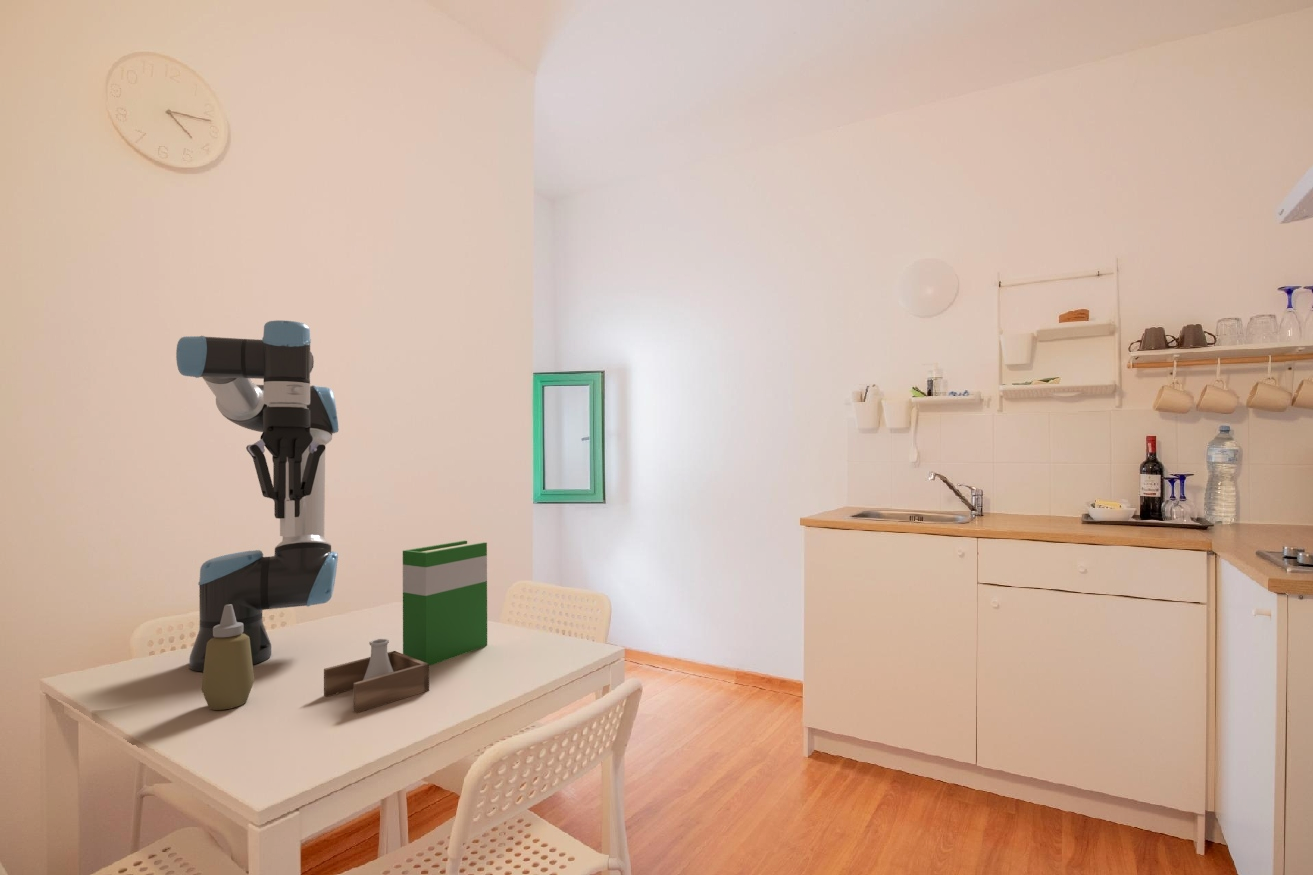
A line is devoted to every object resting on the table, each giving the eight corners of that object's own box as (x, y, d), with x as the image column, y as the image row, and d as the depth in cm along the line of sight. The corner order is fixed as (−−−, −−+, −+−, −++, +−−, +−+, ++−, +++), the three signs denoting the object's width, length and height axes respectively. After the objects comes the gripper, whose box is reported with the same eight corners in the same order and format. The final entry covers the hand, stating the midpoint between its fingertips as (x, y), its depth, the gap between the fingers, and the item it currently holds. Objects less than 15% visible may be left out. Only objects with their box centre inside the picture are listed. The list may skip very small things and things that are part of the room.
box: (323, 695, 124) (323, 668, 124) (394, 675, 135) (394, 650, 135) (356, 713, 116) (356, 684, 116) (429, 690, 126) (429, 663, 126)
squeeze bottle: (214, 717, 115) (215, 612, 115) (192, 707, 119) (192, 607, 119) (263, 701, 121) (263, 603, 122) (240, 693, 126) (240, 598, 126)
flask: (379, 703, 120) (379, 648, 120) (349, 698, 123) (349, 644, 123) (408, 690, 127) (408, 637, 127) (379, 685, 129) (379, 633, 130)
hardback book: (464, 640, 159) (464, 540, 159) (487, 645, 155) (486, 542, 155) (402, 661, 144) (402, 550, 144) (426, 667, 140) (425, 553, 140)
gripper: (255, 404, 114) (255, 541, 113) (332, 407, 124) (332, 533, 123) (239, 406, 118) (239, 538, 118) (315, 408, 128) (315, 530, 128)
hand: (287, 535), depth 121 cm, fingers closed
